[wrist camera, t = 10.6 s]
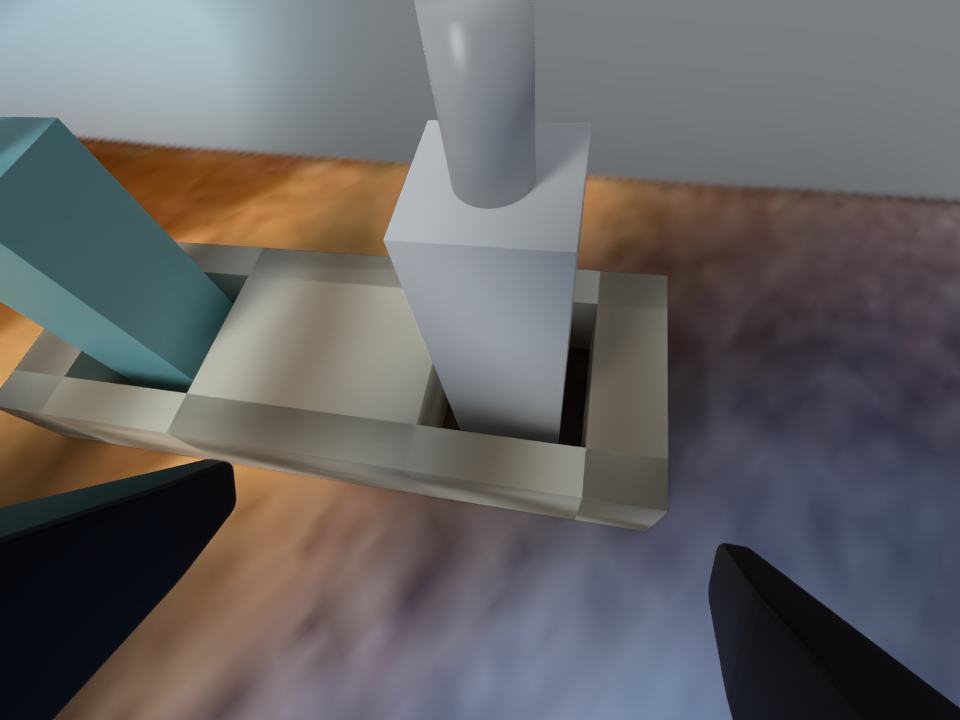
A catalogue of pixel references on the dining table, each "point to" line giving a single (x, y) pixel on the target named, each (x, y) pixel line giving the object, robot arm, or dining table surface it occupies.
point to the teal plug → (98, 261)
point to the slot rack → (376, 391)
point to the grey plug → (492, 222)
